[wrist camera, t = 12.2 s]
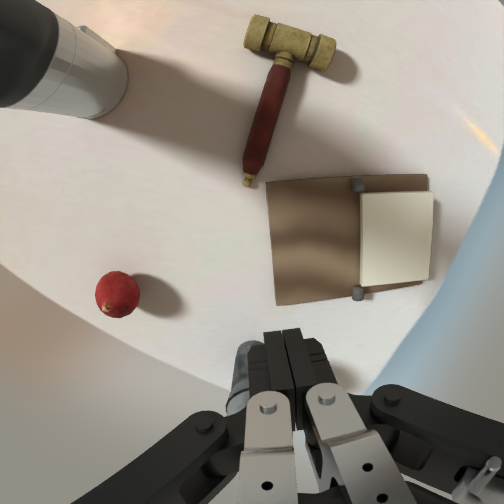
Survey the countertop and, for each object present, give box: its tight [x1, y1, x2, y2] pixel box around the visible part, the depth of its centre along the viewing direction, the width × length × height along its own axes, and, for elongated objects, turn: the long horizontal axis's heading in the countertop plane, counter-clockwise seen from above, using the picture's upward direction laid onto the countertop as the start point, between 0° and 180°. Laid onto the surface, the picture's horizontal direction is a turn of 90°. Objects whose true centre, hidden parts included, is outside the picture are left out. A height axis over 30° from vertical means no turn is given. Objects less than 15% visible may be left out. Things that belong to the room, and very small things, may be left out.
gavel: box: [243, 14, 336, 187], centre depth 33 cm, size 21×5×10 cm
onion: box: [95, 271, 140, 318], centre depth 36 cm, size 6×6×8 cm
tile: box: [360, 191, 433, 287], centre depth 37 cm, size 12×10×1 cm
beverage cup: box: [226, 341, 263, 416], centre depth 35 cm, size 7×7×20 cm
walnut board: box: [266, 174, 427, 306], centre depth 38 cm, size 16×22×3 cm
